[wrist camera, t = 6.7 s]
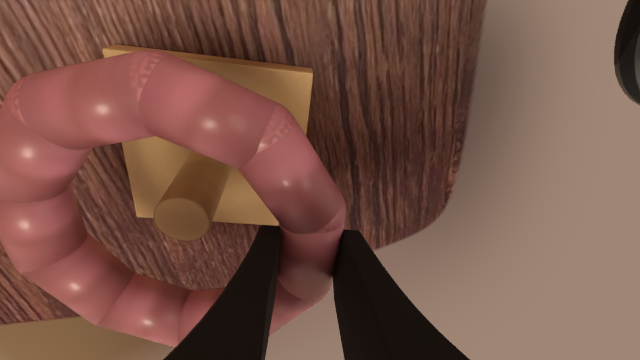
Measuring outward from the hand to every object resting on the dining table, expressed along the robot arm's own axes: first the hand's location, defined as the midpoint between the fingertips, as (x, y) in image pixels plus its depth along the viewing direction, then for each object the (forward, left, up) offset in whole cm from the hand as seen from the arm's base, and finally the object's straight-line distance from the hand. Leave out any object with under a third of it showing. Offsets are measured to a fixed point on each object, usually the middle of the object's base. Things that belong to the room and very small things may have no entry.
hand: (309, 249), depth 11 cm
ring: (+5, 0, -1) cm, 5 cm away
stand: (+5, 0, -8) cm, 9 cm away
